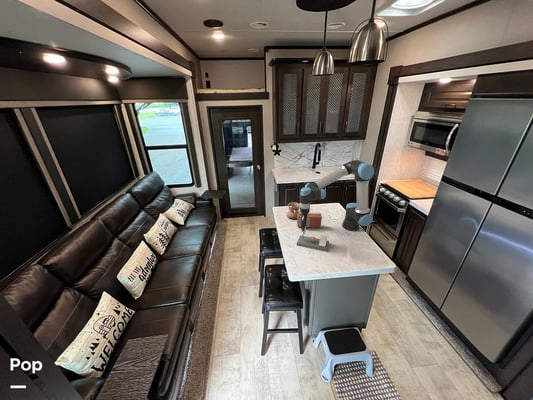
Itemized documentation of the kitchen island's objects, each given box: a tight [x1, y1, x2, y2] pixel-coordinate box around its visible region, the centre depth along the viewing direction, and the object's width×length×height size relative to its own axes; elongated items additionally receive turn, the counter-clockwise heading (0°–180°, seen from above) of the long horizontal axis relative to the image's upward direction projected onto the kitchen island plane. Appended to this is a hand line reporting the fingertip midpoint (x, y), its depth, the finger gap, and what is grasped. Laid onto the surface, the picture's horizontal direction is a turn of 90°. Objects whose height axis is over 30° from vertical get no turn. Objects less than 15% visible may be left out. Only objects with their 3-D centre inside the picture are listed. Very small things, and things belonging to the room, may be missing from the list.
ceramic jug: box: [286, 201, 301, 220], centre depth 219 cm, size 18×14×14 cm
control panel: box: [296, 212, 323, 228], centre depth 200 cm, size 21×7×15 cm, turn 85°
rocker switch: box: [319, 234, 328, 247], centre depth 172 cm, size 5×11×1 cm, turn 157°
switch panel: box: [296, 234, 330, 252], centre depth 176 cm, size 24×12×4 cm, turn 67°
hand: (303, 233), depth 176 cm, fingers closed
